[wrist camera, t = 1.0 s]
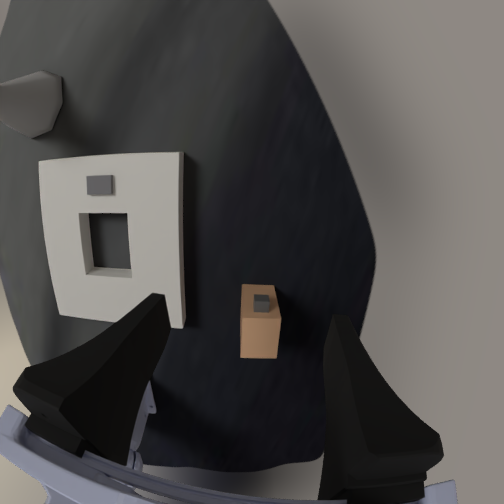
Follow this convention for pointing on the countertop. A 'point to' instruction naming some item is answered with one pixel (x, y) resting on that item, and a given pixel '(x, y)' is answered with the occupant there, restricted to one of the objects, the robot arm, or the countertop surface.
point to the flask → (31, 103)
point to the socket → (139, 228)
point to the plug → (259, 321)
